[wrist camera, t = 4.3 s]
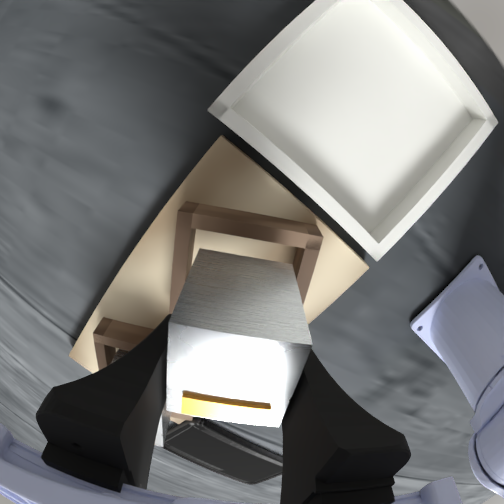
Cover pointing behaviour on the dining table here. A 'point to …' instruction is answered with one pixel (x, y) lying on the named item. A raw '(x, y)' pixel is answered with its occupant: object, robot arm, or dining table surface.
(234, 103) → the white square tray
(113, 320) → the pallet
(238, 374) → the loose billet
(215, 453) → the phone
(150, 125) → the dining table surface
